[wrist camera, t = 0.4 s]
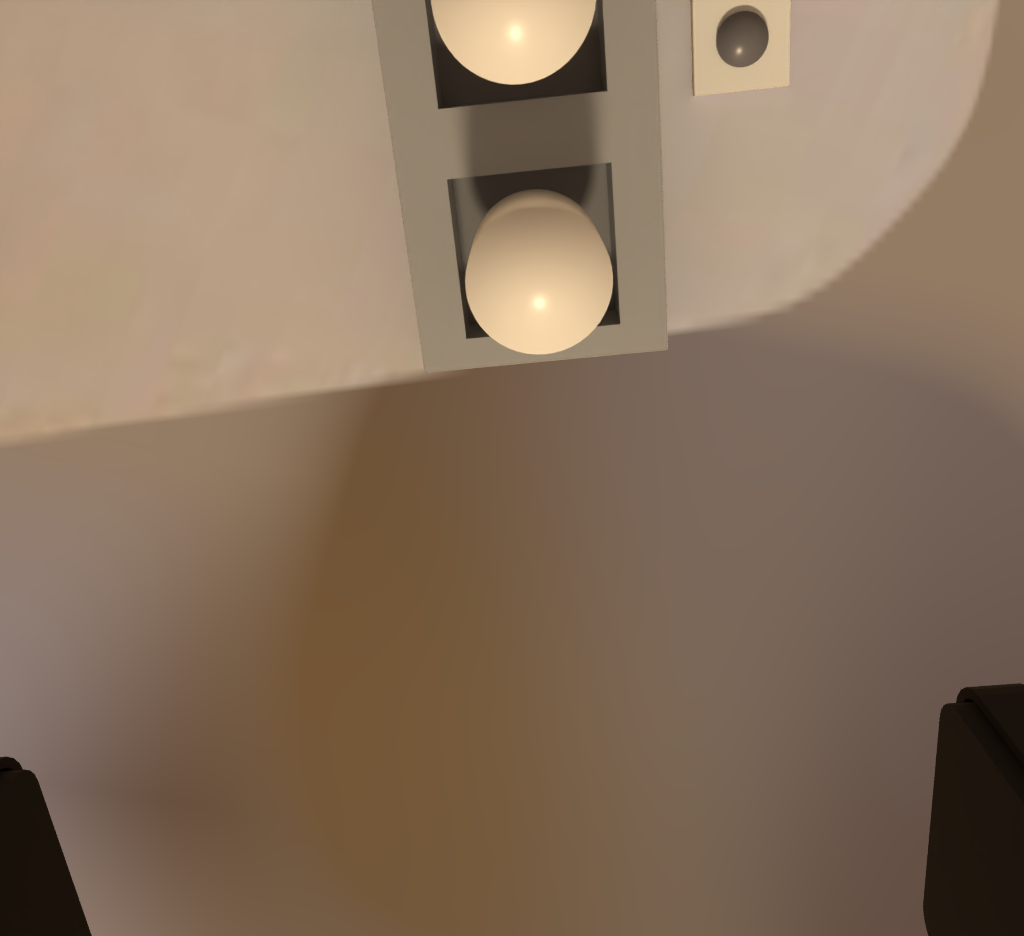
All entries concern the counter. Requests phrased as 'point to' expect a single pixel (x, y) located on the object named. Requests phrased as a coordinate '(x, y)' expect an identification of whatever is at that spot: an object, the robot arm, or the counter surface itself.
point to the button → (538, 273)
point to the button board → (527, 171)
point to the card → (739, 45)
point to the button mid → (513, 35)
